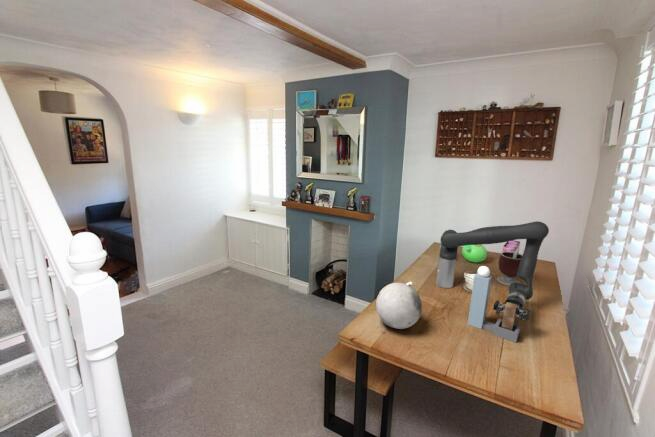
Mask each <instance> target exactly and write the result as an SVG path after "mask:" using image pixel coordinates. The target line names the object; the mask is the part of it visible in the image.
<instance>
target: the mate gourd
mask: <svg viewBox="0 0 655 437" xmlns="http://www.w3.org/2000/svg"><path fill="white" fill-rule="evenodd" d="M518 251H520V247H519V248H518V249H517V250H516V251H515V252H514V253H513V252H501V253H500V255H499V259H498V269H499V271H500V273H501V274H503V275H505V276H499V277H497V281H498V282H499V283H500V284H503V285H505V286H510V284H511V283H513V282H517V283H521V282H520V280H518V279H516V277H517V272H518V268H519V265H520V261H521V258H522V256H523V254H521V253H518ZM514 277H515V278H514ZM517 278H518V277H517Z"/></svg>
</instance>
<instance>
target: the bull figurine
mask: <svg viewBox="0 0 655 437" xmlns="http://www.w3.org/2000/svg"><path fill="white" fill-rule="evenodd" d="M406 284H407V285H409V286H410V287H412V288H414V287H415V285H414V283H413V282H412V281H407V282H406Z"/></svg>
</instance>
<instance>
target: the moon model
mask: <svg viewBox="0 0 655 437" xmlns="http://www.w3.org/2000/svg"><path fill="white" fill-rule="evenodd" d="M376 297H377V298H376V299H375V300H376V301H375V302H376V303H375V305H376V306H375V307H376V312H377V315H378V317H379V318H380V320H381V321H382V322H383V323H384V324H385V325H387V326H388V327H390V328H393V329H397V330H398V329H399V330H403V329H407V328H410V327H412V326H414V325H415V323H417V322H418V320H419V318H420V317H421V314H422V311H423V310H422V309H423V306H422V304H423V303H422V300H421V297H420V295H419V293H418V292H417V291H416V290H415V288H414V287H410V286H409V285H407V283H403V282H391V283H389V284H387V285H386V286H384V287H383V288H382V289H381V290H380V291H379V293H378V295H377V296H376Z"/></svg>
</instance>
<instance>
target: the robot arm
mask: <svg viewBox="0 0 655 437" xmlns="http://www.w3.org/2000/svg"><path fill="white" fill-rule="evenodd" d="M549 231H550V230H549V227H548V225H547V224H546V223H544V222H543V221H532V222H531V221H530V222H527V223H523V224H521V223H520V224H516V225H493V226H483V227H479V228H476V229H473V230H469V231H465V232H457V231H456V230H453V229H446V230H445V231H444V232H443V233H442V234H441V236H440V243H441V244H440V248H441V249H440V248H439V257H438V263H437V264H438V265H437V266H438V267H437V269H436V279H435V286H438V287H440V288H442V289H443V288H444V289H451V288H453V287H454V278H455V272H456V271H455V270H456V262H457V255H458V249H459V247H463V246H465V245H481V244H482V245H493V244H496V245H497V244H502V243H507V241H512V240H514V241H518V240H525V246H524V250H523V253H522V255H523V256H522V258H521V261H520V265H519V268H518V272H517V278H519V279H521V280H522V281H524V282H525V283H526V284H525V283H521V282H520V283H517V282H513V283H511V284H510V285H508V286H509V287H508V293H509V294H508V296H507V297H506V299H505V300H504V302H503V303H502V302H501V301H500V300H498V299H497V300H495V302H494V303H493V309H492V310H494V311H495V314H496V315H497V316H500V314H501V313H503V314H504V309H505V305H506V303H507V302H508V303H512V304H515V305H517V309H516V314H515V317H517V318H518V323H520V322H524V320H526V321H530V317H531V309H528V308H527V310H526V309H524V308H525V306H526V301H527V300H530V299H532V298H533V295H534V290H533V281H534V280H533V279H534V275H535V271H536V266H537V261H538V255H539V252H540V248H541V246H542V243H543V241H544V239H546V237H548V235H549Z"/></svg>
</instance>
